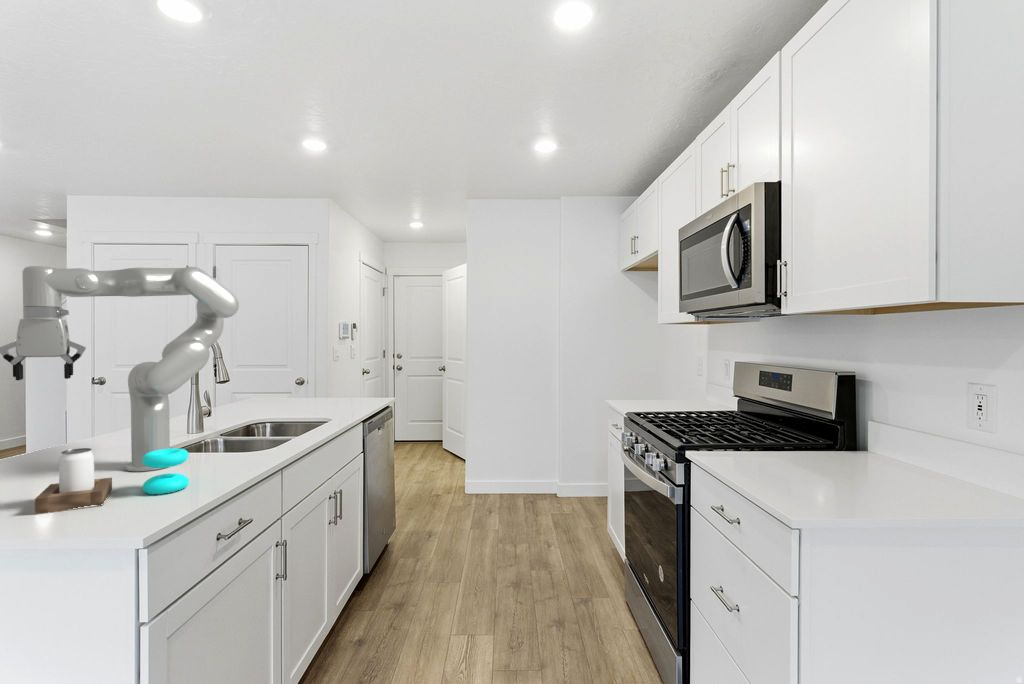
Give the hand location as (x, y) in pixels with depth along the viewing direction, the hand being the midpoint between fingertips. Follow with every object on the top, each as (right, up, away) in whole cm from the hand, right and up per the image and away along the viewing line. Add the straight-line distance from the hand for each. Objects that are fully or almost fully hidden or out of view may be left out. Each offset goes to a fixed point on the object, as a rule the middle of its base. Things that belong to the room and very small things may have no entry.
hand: (43, 379), depth 136 cm
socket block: (+18, -29, -12) cm, 36 cm away
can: (+18, -29, -11) cm, 36 cm away
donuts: (+34, -29, -2) cm, 44 cm away
